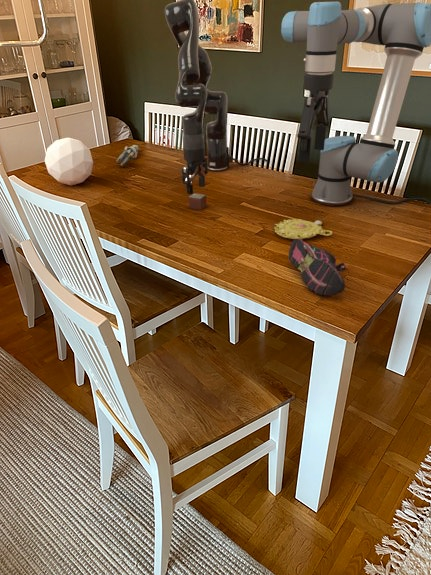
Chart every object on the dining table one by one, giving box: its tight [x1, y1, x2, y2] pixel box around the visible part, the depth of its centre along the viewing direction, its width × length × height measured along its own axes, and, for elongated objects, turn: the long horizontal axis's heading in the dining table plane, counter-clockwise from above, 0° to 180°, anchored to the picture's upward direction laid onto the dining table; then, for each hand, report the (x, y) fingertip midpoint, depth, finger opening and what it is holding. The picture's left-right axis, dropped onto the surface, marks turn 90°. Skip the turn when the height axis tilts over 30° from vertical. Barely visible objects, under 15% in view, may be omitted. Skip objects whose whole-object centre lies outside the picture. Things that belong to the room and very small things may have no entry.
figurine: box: [115, 144, 140, 167], centre depth 221 cm, size 7×8×30 cm
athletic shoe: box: [288, 239, 349, 296], centre depth 119 cm, size 11×22×12 cm
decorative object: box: [273, 218, 333, 241], centre depth 145 cm, size 21×2×20 cm
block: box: [188, 192, 207, 211], centre depth 166 cm, size 4×5×4 cm
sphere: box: [44, 137, 94, 187], centre depth 189 cm, size 19×20×20 cm
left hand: (196, 190), depth 164 cm, fingers open, 8 cm apart
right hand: (311, 155), depth 125 cm, fingers open, 13 cm apart
